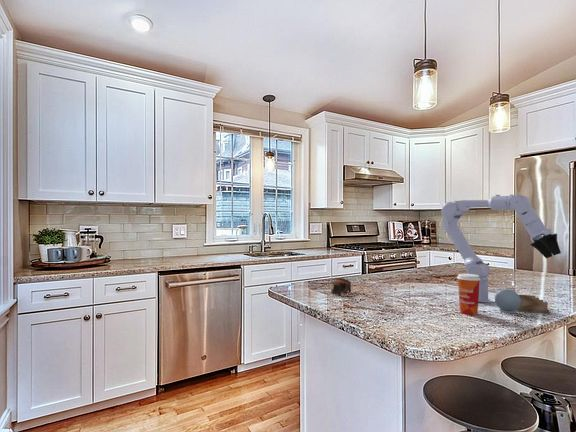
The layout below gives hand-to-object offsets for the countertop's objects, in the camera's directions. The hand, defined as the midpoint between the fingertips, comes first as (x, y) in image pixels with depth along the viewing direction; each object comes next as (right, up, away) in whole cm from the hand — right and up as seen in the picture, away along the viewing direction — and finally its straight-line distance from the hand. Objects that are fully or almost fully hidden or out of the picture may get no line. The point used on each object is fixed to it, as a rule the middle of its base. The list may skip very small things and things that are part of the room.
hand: (553, 255), depth 122 cm
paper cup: (-31, -21, -1) cm, 38 cm away
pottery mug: (-73, -22, +32) cm, 82 cm away
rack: (-5, -21, +6) cm, 23 cm away
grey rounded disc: (-16, -21, +1) cm, 27 cm away
